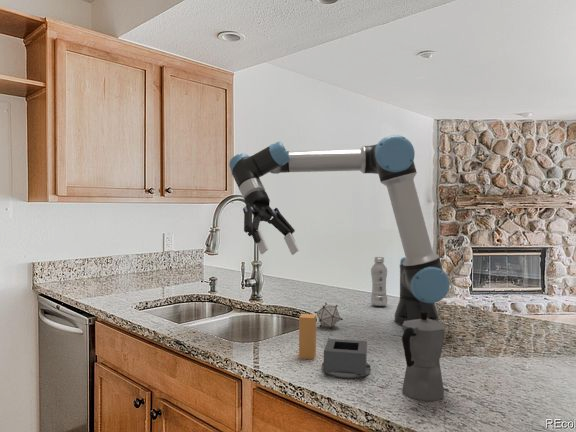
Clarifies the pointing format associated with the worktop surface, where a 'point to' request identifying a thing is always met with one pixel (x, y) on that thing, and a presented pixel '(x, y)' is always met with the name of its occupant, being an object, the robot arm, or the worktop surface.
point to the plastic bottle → (379, 283)
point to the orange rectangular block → (307, 336)
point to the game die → (328, 315)
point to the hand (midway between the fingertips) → (280, 252)
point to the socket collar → (346, 359)
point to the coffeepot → (423, 358)
